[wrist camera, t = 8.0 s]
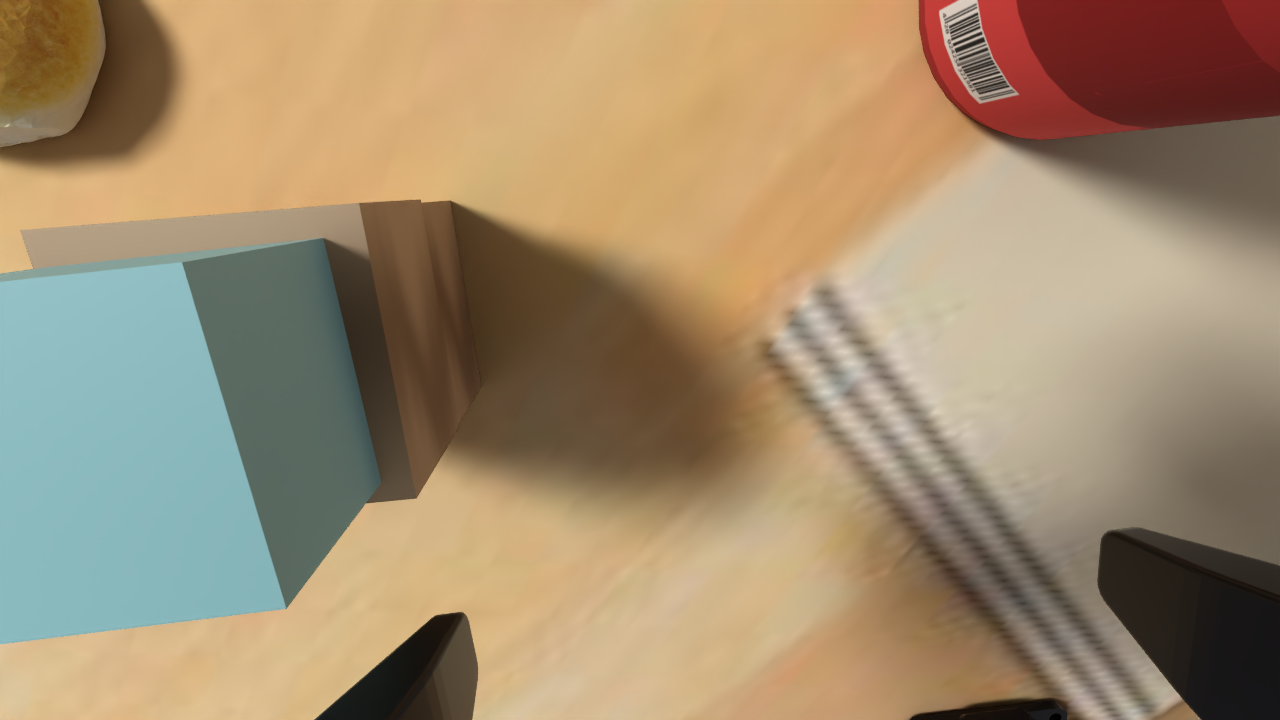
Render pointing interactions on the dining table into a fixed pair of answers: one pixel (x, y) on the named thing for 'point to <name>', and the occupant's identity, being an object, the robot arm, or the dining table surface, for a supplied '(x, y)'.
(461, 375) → the tower base
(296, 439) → the teal block
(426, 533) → the dining table surface
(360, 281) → the tower top
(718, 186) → the dining table surface
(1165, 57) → the canned food
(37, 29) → the bread roll
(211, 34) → the dining table surface
